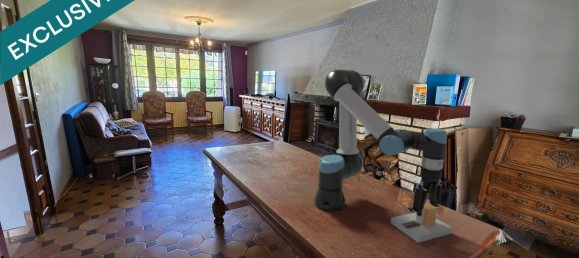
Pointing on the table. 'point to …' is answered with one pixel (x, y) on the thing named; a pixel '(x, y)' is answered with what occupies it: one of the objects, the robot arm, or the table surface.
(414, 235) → the junction plate
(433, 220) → the cardboard-colored cube
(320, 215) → the table surface
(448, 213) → the table surface
